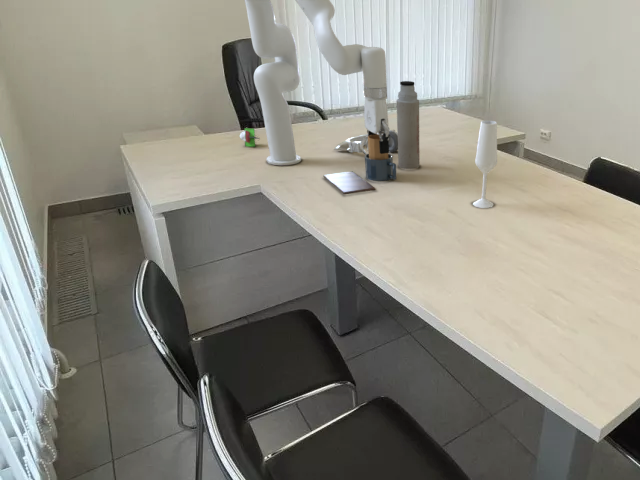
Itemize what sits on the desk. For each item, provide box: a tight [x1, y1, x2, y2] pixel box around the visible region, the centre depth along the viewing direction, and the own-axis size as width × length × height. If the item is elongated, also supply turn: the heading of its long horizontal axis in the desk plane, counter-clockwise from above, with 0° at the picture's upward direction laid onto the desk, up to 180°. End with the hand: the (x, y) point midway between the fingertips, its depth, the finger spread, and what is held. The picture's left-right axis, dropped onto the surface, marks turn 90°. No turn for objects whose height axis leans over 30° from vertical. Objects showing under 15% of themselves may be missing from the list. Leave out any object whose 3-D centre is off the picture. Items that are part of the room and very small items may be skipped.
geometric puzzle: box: [239, 127, 261, 148], centre depth 214 cm, size 7×7×8 cm
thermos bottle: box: [396, 80, 421, 170], centre depth 191 cm, size 8×8×28 cm
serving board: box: [322, 170, 376, 195], centre depth 182 cm, size 20×11×1 cm, turn 30°
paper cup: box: [367, 135, 389, 160], centre depth 184 cm, size 7×7×13 cm
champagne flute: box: [472, 120, 498, 209], centre depth 163 cm, size 7×7×24 cm
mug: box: [364, 153, 398, 182], centre depth 185 cm, size 13×10×8 cm
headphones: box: [333, 129, 398, 156], centre depth 213 cm, size 22×8×22 cm
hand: (378, 149), depth 182 cm, fingers open, 9 cm apart
